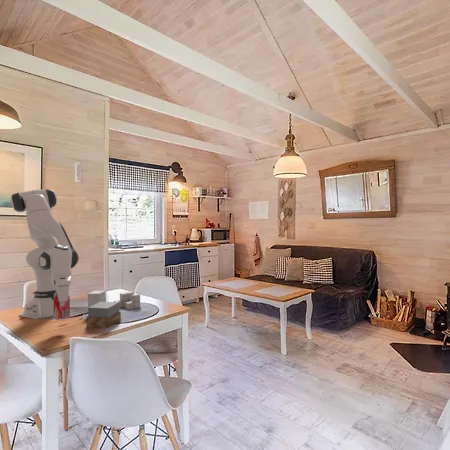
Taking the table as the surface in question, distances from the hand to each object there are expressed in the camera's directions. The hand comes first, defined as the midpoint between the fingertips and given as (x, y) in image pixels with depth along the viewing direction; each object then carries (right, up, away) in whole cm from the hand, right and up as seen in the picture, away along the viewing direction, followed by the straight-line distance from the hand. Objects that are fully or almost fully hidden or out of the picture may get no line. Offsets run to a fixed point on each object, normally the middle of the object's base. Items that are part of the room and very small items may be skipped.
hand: (61, 306), depth 155 cm
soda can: (+1, -6, -1) cm, 6 cm away
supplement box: (+7, -11, +27) cm, 30 cm away
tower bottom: (+17, -12, +10) cm, 23 cm away
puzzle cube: (+20, -11, +40) cm, 46 cm away
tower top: (+17, -7, +10) cm, 21 cm away
